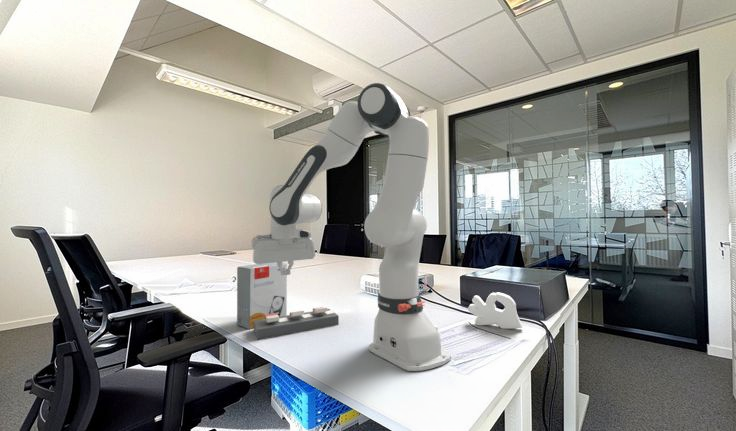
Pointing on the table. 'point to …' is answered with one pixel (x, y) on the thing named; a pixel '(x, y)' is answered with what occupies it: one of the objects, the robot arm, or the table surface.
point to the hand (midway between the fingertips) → (285, 274)
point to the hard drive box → (260, 292)
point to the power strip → (295, 324)
